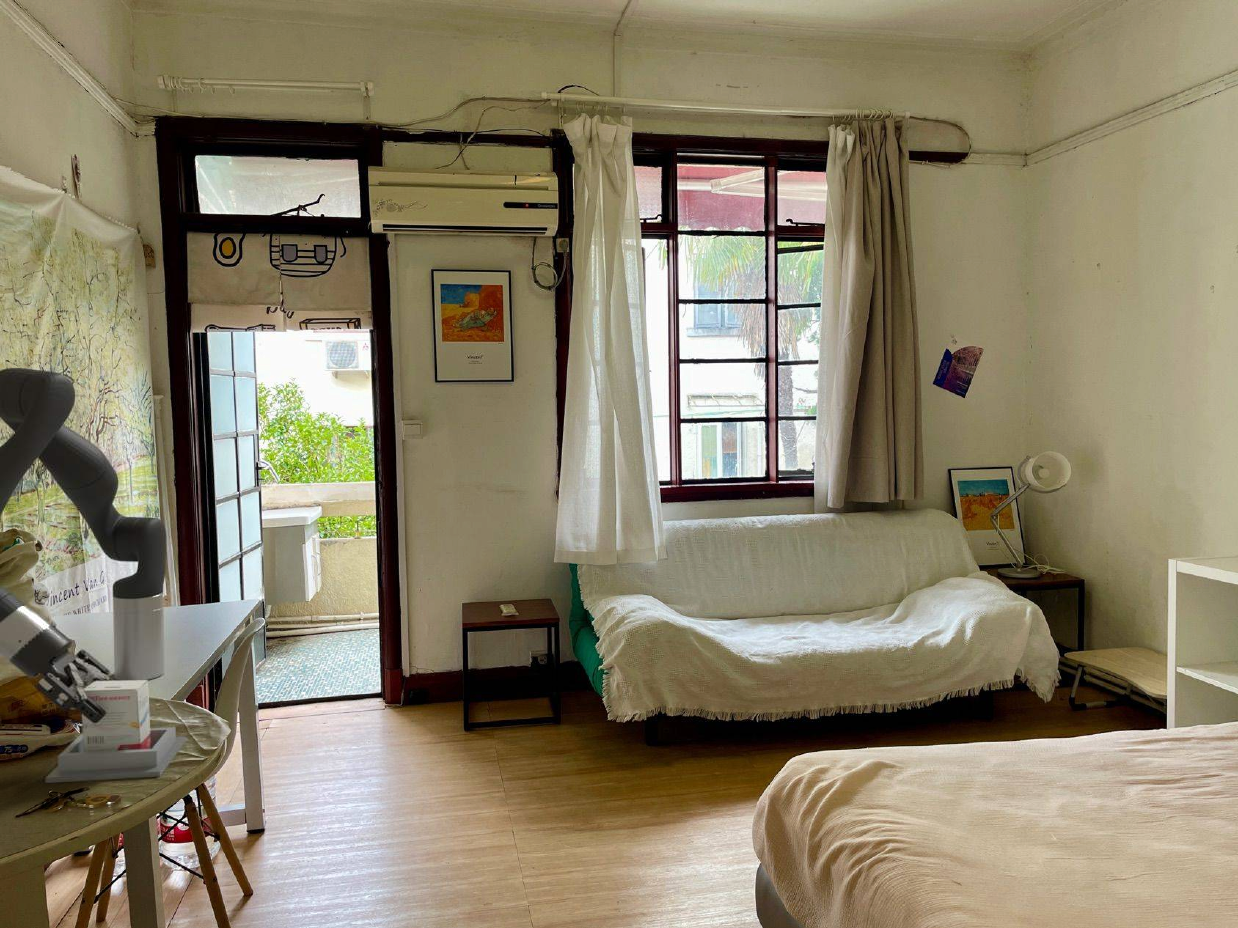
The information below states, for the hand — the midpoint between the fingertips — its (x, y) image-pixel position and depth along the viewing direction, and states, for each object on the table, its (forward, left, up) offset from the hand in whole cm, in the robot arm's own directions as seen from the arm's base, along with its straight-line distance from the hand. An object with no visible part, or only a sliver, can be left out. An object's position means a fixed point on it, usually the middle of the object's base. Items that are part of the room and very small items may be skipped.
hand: (111, 709), depth 141 cm
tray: (0, +1, -9) cm, 9 cm away
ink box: (0, +1, -8) cm, 8 cm away
